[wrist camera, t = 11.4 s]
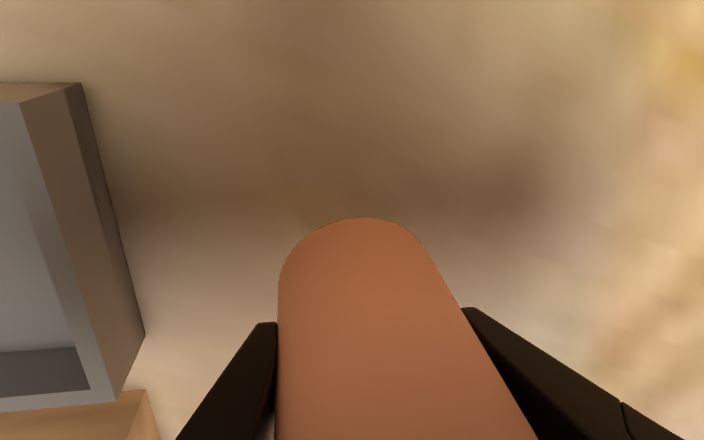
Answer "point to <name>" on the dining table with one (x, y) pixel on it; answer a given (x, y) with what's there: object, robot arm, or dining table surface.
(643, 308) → the dining table surface
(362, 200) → the dining table surface
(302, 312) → the dowel
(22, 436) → the light wood rectangular prism
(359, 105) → the dining table surface
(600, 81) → the dining table surface
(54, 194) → the tray
